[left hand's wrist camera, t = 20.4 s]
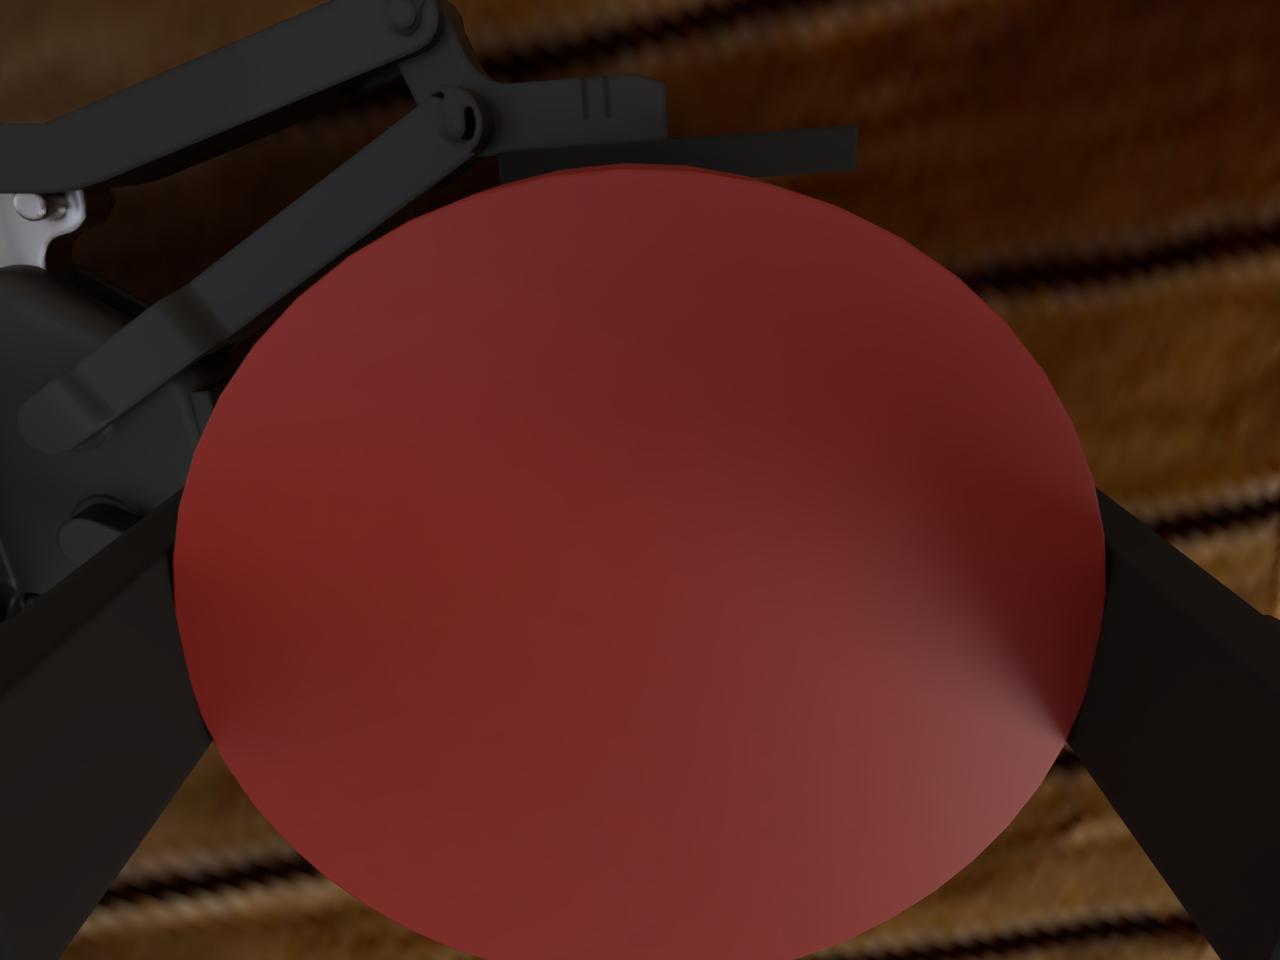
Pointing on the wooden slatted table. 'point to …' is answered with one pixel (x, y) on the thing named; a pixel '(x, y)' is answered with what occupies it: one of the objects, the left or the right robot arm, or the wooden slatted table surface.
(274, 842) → the wooden slatted table surface
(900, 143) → the wooden slatted table surface
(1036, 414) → the lid
